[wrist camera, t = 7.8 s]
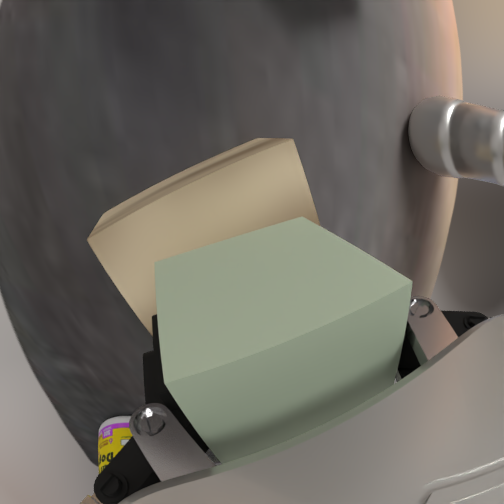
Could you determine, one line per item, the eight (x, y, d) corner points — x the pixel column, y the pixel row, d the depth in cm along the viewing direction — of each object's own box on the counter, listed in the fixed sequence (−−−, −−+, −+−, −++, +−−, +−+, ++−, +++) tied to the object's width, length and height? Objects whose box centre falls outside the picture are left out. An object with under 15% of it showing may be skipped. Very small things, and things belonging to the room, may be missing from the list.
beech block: (104, 212, 15) (86, 239, 11) (255, 138, 17) (293, 138, 12) (180, 333, 20) (191, 383, 15) (302, 269, 21) (340, 303, 17)
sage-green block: (154, 262, 10) (164, 383, 5) (302, 216, 12) (412, 281, 6) (200, 372, 13) (236, 480, 8) (314, 328, 14) (385, 411, 9)
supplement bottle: (105, 405, 20) (112, 541, 9) (174, 420, 23) (206, 544, 12) (94, 439, 21) (101, 550, 10) (154, 451, 24) (177, 555, 13)
